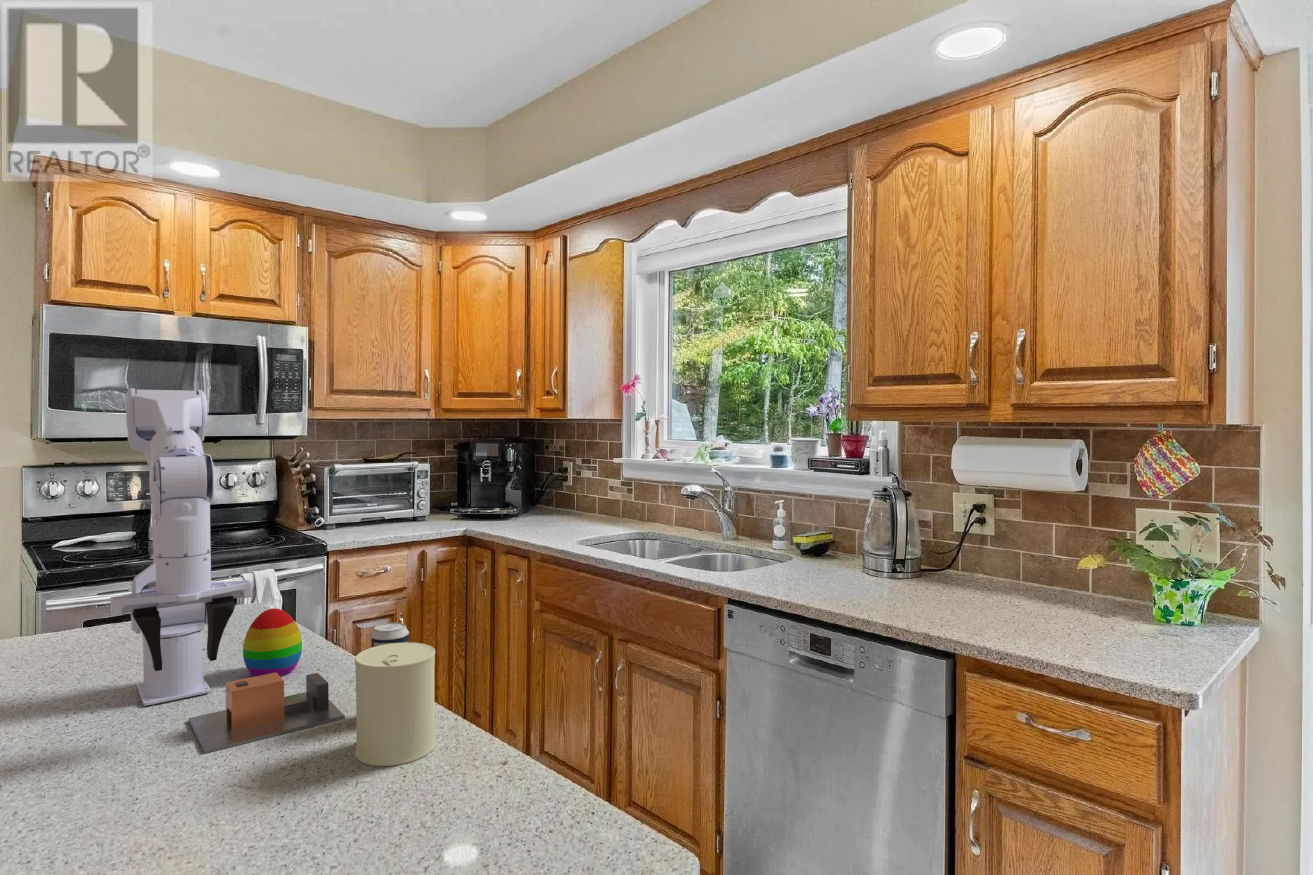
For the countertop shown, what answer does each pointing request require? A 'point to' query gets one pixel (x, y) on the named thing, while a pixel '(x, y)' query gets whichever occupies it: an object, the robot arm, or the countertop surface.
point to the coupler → (297, 715)
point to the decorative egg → (272, 644)
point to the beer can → (389, 634)
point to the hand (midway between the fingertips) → (185, 663)
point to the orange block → (254, 700)
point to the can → (395, 703)
